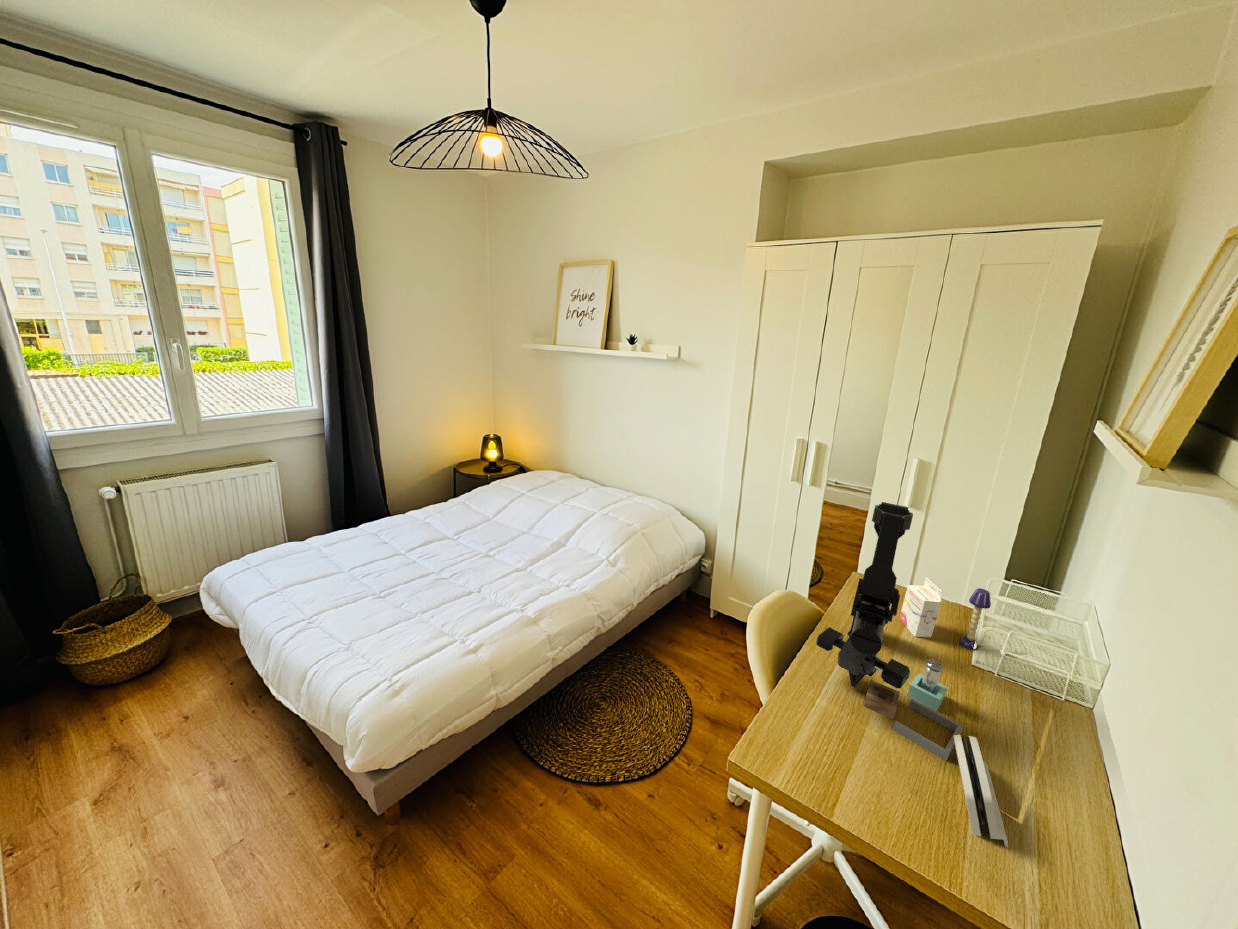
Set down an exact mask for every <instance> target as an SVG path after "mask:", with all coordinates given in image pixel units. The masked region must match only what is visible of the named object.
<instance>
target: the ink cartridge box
mask: <svg viewBox="0 0 1238 929" xmlns="http://www.w3.org/2000/svg"><path fill="white" fill-rule="evenodd" d="M932 587H933V588H932ZM943 594H944V593H943V591H942V590H941V589H940V588H939V587H938V586H937V585H936V584H935V583H934V582H933V581H931V580H930V579H929V578H928V577H927V576H925V577H924V584H923V585H918V584H917V585H913V584H907V587H906V591H905V596H904V599H903V602H902V603H903V604H902V605H901V606H902V607H901V610H900V615H899V618H898V619H899V620H900V622H901V623H902V624H903V625H904V626H905V627H906V628H907V629H908V631H909V632H910V633H911V634H912V635H913V637H915V638H932V635H933V633H934V629H935V626H936V623H937V619H938V616H939V615H938V614H939V611H940V608H941V605H942V599H943Z"/></svg>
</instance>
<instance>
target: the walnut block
mask: <svg viewBox="0 0 1238 929" xmlns="http://www.w3.org/2000/svg"><path fill="white" fill-rule="evenodd" d="M867 688H868V689H867V691H866V694H865V697H864V698H865V700H864V702H863V707H865V708H867V709H868V710H871V711H874V712H876V713H878V714H880V715H882V716H885V717H887V718H889V719H891V720H894V719H895V716H896V713H897V708H898V703H899V698H900V693H901V691H899V690H897V689H894V688H892V687H889V686H887V685H885V684H882V683H880V682H877V681H875V680H872V679H870V681H869V684H868V687H867Z"/></svg>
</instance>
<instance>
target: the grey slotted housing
mask: <svg viewBox="0 0 1238 929" xmlns="http://www.w3.org/2000/svg"><path fill="white" fill-rule="evenodd" d="M952 736H954V741H955V745H954V748H955V751H956V758H957V761H958V762H957V763H958V767H959V768H958V769H959V771H960V773H959V774H960V779H961V782H962V788H963V792H964V798H965V803H966V807H967V813H968V817H969V818H968V819H969V823H970V827H971V828H970V829H971V832H972V833H971V834H973V835H974V836H977V837H980V838H981V837H982V835H984V829H983V826H985V831H986V835H987V836H990V839H991V840H1002V841H1003V844H1004V847H1005V848H1008V849H1009V842H1008V837H1007V833H1006V829H1005V827H1004V826H1005V825H1004V823H1003V819H1002V815H1001V811H1000V806H999V803H998V800H997V796H996V792H995V789H994V785H993V781H992V777H991V773H990V769H989V766H988V764H987V763H986V762H985V761H984V760H983V756H982V752H981V748H980V745H979V741H978V739H977V737H975V736H972V735H968V736H965V737H966V740H965V738H964V736H962V734H960V735H953V734H952ZM965 741H966V742H965ZM966 745H967V746H966ZM976 788H978V794H979V798H978V796H977V795H978V794H977V791H976Z"/></svg>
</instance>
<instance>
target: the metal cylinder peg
mask: <svg viewBox="0 0 1238 929" xmlns="http://www.w3.org/2000/svg"><path fill="white" fill-rule="evenodd" d="M925 666H926V667H925V669H924V670H925V671H924V674H923V676H924V677H923V680H922V683H921V688H923V689H925V690H927V691H928V692H930V693H932V694H934V693H935V690H936V687H937V683H939V679H940V676H941V673H942V672H943V670H944V665H943V664H942V663H941V662H939V661H938V660H935V659H930V658H929V659H927V660H926V663H925Z"/></svg>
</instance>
